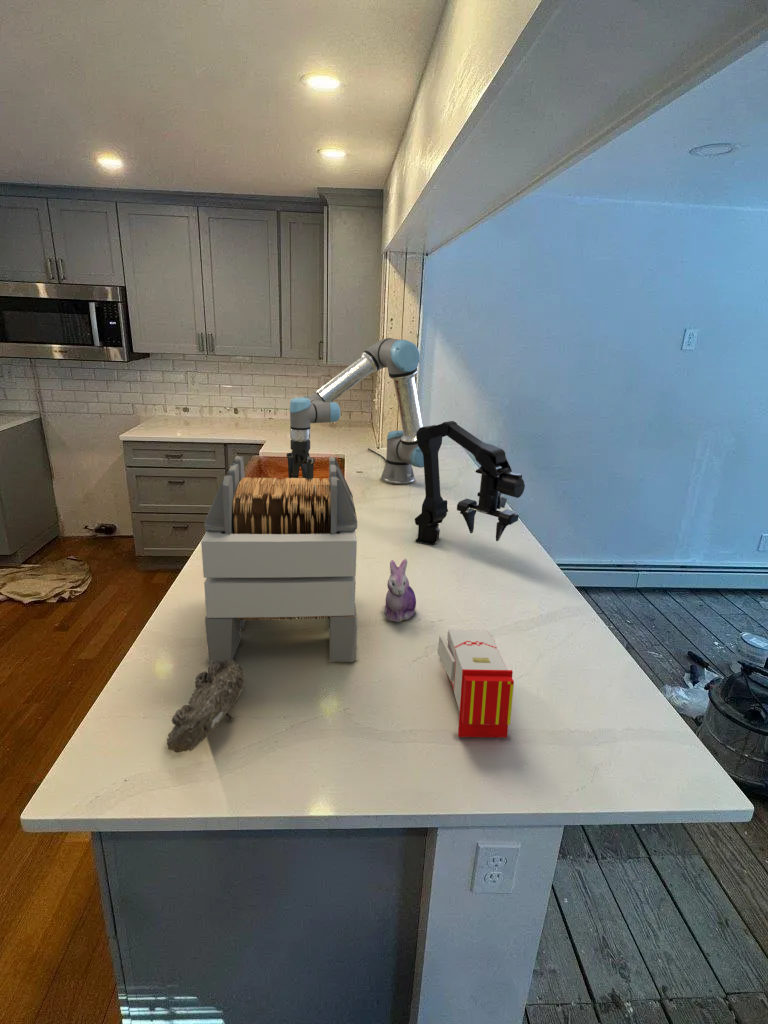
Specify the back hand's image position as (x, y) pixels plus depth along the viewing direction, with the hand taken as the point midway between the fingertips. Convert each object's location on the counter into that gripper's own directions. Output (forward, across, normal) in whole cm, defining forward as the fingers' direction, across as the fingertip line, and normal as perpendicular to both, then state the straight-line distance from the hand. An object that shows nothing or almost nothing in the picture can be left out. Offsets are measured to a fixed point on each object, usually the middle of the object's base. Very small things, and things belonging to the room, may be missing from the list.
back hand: (300, 497), depth 224 cm
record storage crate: (+3, -63, +64) cm, 90 cm away
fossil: (+3, -78, +96) cm, 124 cm away
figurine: (+3, -81, +41) cm, 91 cm away
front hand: (-6, -80, -3) cm, 80 cm away
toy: (+3, -111, +56) cm, 125 cm away
